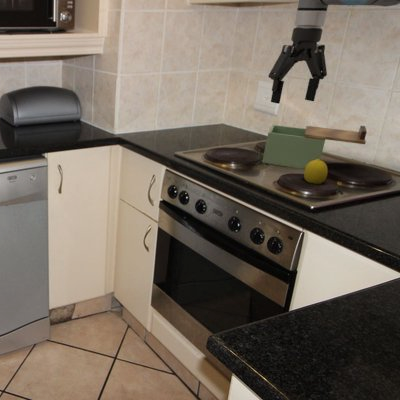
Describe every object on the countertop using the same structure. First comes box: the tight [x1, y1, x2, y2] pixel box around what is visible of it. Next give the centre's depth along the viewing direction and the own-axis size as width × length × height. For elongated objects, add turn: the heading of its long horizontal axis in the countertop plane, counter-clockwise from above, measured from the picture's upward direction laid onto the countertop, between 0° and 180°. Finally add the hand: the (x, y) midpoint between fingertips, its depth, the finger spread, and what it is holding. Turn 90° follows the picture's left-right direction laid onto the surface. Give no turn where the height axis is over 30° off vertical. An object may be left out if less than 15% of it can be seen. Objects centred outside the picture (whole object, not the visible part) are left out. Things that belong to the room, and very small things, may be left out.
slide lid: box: [304, 125, 367, 145], centre depth 145 cm, size 16×13×3 cm
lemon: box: [303, 159, 329, 185], centre depth 132 cm, size 6×6×8 cm
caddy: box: [261, 124, 326, 170], centre depth 152 cm, size 16×13×10 cm
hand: (292, 101), depth 145 cm, fingers open, 13 cm apart
